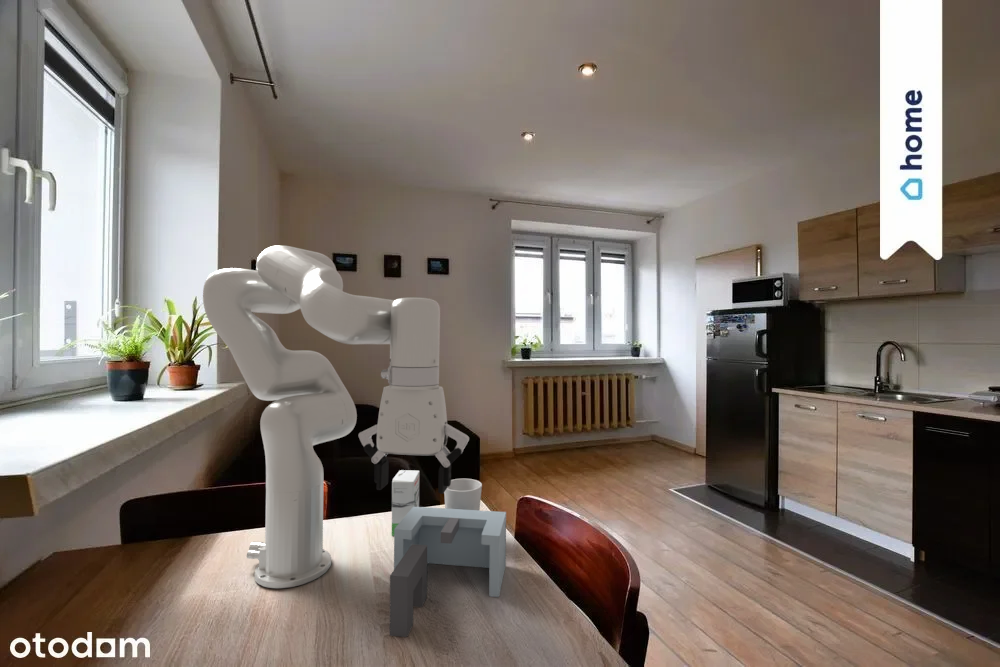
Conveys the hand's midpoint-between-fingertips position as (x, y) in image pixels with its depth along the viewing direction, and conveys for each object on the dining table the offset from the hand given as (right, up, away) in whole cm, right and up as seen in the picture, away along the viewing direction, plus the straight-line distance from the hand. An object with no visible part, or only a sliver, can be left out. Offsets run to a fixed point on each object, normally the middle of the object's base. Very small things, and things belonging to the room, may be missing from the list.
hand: (412, 488), depth 67 cm
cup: (+6, -20, +24) cm, 31 cm away
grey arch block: (0, -19, 0) cm, 19 cm away
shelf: (+5, -19, +11) cm, 23 cm away
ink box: (-8, -20, +30) cm, 37 cm away
